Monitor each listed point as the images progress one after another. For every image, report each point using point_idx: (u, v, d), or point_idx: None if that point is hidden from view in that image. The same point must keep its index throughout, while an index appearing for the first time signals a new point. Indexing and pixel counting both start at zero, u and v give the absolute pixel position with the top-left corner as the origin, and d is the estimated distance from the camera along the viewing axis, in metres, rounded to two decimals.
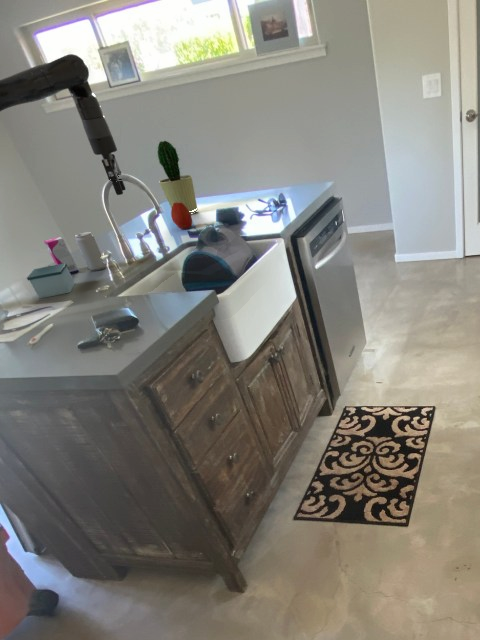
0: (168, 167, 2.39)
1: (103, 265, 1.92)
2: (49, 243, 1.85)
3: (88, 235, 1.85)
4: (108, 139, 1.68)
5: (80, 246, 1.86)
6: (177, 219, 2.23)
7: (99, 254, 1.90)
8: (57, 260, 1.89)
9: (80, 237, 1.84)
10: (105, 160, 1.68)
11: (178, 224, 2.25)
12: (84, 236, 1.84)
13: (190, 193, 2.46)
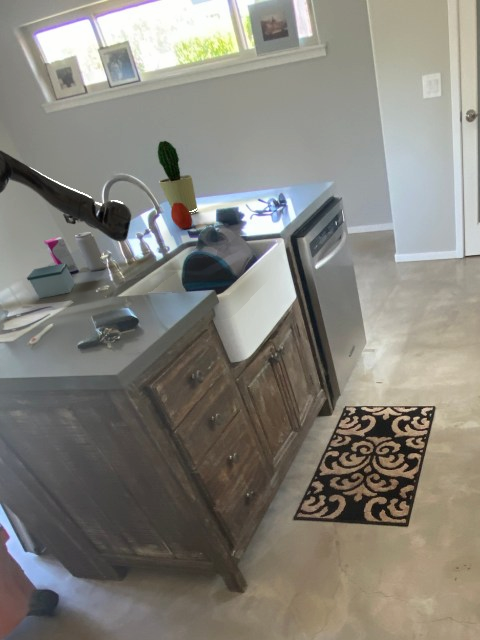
0: (168, 167, 2.39)
1: (103, 265, 1.92)
2: (49, 243, 1.85)
3: (88, 235, 1.85)
4: (93, 226, 1.66)
5: (80, 246, 1.86)
6: (177, 219, 2.23)
7: (99, 254, 1.90)
8: (57, 260, 1.89)
9: (80, 237, 1.84)
10: (70, 219, 1.65)
11: (178, 224, 2.25)
12: (84, 236, 1.84)
13: (190, 193, 2.46)
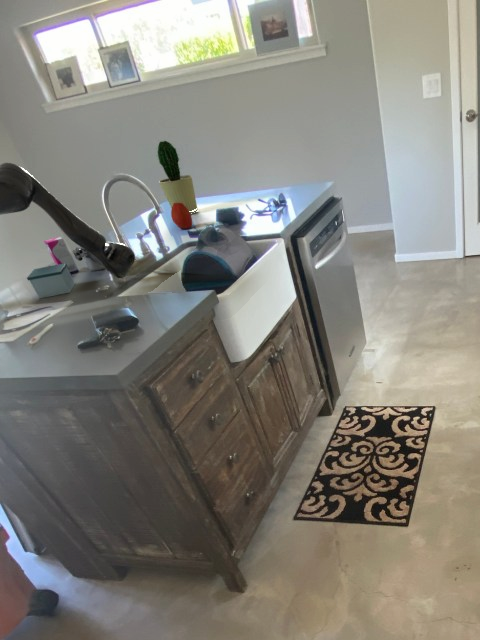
0: (168, 167, 2.39)
1: None
2: (49, 243, 1.85)
3: None
4: (98, 263, 1.82)
5: None
6: (177, 219, 2.23)
7: None
8: (57, 260, 1.89)
9: None
10: (77, 256, 1.82)
11: (178, 224, 2.25)
12: None
13: (190, 193, 2.46)
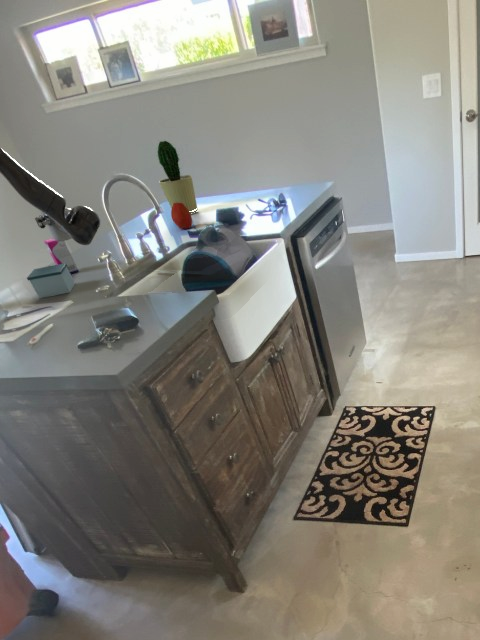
0: (168, 167, 2.39)
1: None
2: (49, 243, 1.85)
3: None
4: (62, 231, 1.68)
5: (43, 213, 1.71)
6: (177, 219, 2.23)
7: None
8: (57, 260, 1.89)
9: None
10: (39, 224, 1.67)
11: (178, 224, 2.25)
12: None
13: (190, 193, 2.46)
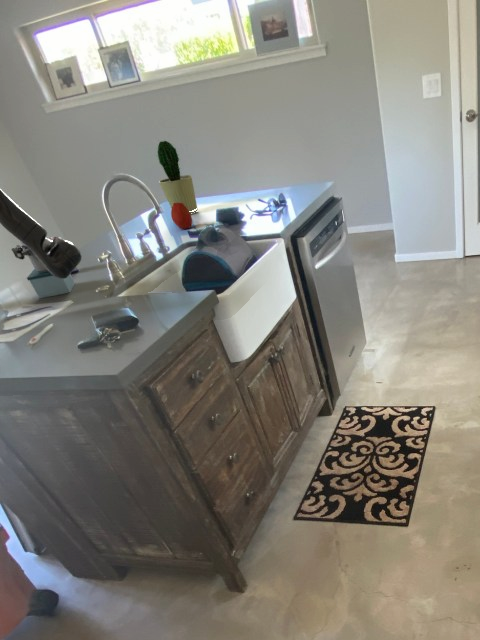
0: (168, 167, 2.39)
1: None
2: None
3: None
4: None
5: None
6: (177, 219, 2.23)
7: None
8: None
9: None
10: (18, 255, 1.60)
11: (178, 224, 2.25)
12: None
13: (190, 193, 2.46)
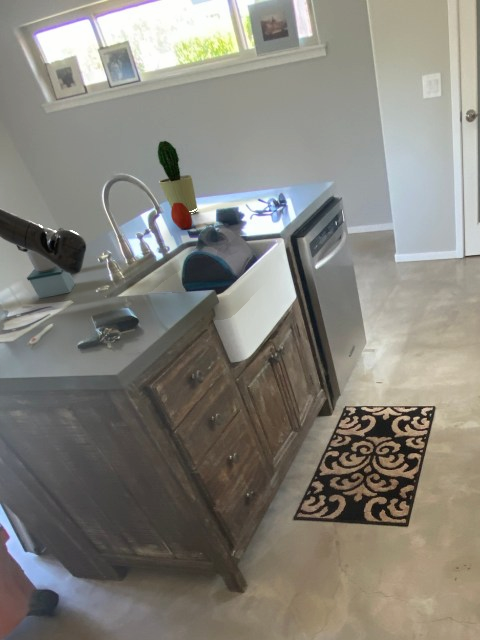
0: (168, 167, 2.39)
1: (52, 266, 1.72)
2: None
3: None
4: None
5: None
6: (177, 219, 2.23)
7: None
8: None
9: None
10: (21, 247, 1.51)
11: (178, 224, 2.25)
12: None
13: (190, 193, 2.46)
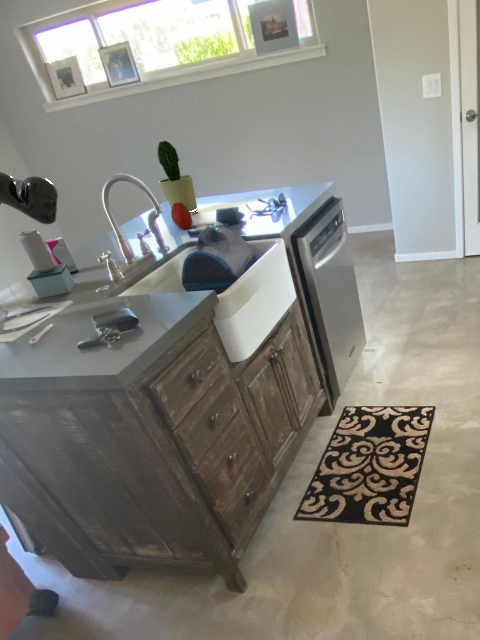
0: (168, 167, 2.39)
1: (52, 266, 1.72)
2: (49, 243, 1.85)
3: (33, 232, 1.65)
4: None
5: (24, 245, 1.65)
6: (177, 219, 2.23)
7: (47, 254, 1.69)
8: (57, 260, 1.89)
9: (23, 235, 1.64)
10: None
11: (178, 224, 2.25)
12: (28, 234, 1.64)
13: (190, 193, 2.46)
